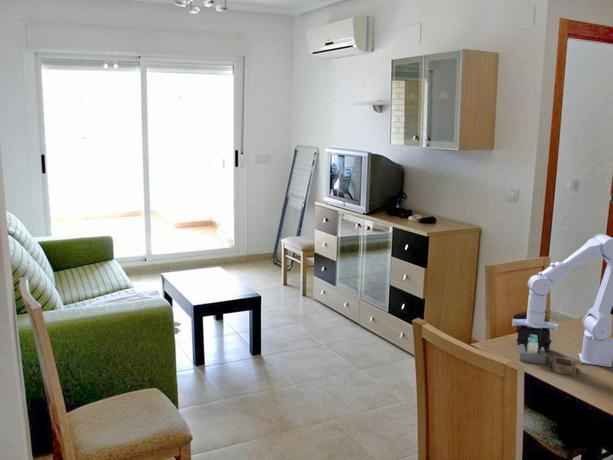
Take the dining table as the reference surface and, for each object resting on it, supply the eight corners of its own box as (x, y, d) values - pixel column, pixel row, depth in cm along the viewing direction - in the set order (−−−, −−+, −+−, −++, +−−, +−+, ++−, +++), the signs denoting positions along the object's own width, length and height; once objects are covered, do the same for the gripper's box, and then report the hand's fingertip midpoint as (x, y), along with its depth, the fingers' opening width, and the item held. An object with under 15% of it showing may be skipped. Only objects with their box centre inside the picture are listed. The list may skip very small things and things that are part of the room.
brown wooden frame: (572, 365, 194) (573, 358, 194) (574, 375, 187) (575, 368, 187) (551, 362, 196) (551, 356, 196) (553, 372, 189) (553, 365, 189)
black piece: (557, 350, 203) (542, 310, 204) (521, 356, 211) (506, 318, 212) (559, 346, 206) (544, 307, 207) (524, 353, 214) (510, 315, 215)
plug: (535, 356, 202) (537, 335, 200) (536, 360, 198) (538, 339, 196) (526, 355, 203) (528, 333, 201) (527, 359, 199) (529, 337, 197)
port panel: (543, 355, 203) (543, 347, 202) (544, 364, 195) (545, 355, 195) (519, 351, 205) (519, 344, 205) (519, 360, 198) (520, 352, 197)
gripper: (514, 311, 195) (510, 348, 198) (560, 316, 191) (556, 354, 194) (513, 304, 202) (510, 341, 205) (558, 309, 198) (554, 346, 200)
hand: (532, 347), depth 200 cm, fingers open, 4 cm apart
